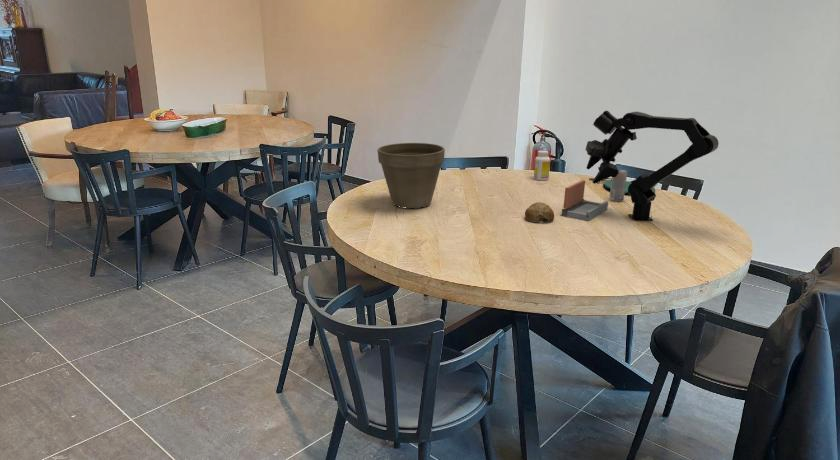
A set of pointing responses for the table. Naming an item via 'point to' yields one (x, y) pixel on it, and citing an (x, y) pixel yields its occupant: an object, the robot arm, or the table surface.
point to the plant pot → (411, 172)
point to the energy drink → (618, 186)
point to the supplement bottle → (542, 166)
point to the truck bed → (588, 210)
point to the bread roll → (539, 213)
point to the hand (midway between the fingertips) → (590, 175)
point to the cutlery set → (608, 184)
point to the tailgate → (574, 194)
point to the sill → (573, 207)
